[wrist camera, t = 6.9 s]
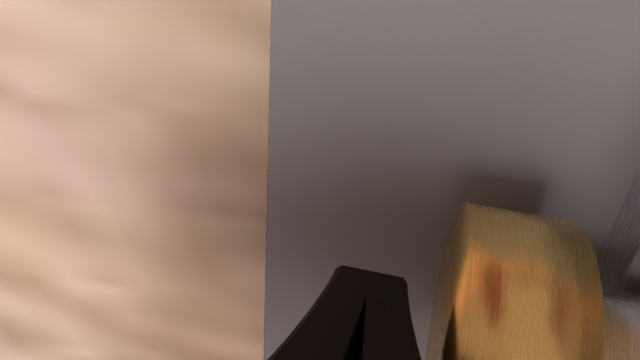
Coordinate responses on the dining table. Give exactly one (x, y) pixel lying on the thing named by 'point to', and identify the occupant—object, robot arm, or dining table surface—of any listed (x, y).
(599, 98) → the base board
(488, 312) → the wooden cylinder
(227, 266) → the dining table surface
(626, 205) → the bearing block
